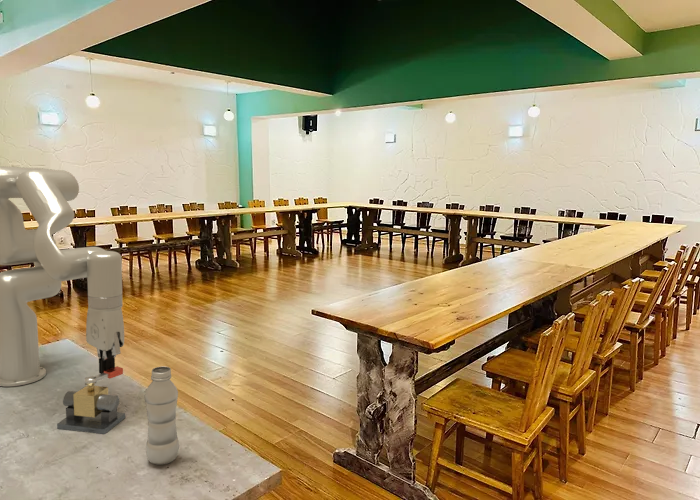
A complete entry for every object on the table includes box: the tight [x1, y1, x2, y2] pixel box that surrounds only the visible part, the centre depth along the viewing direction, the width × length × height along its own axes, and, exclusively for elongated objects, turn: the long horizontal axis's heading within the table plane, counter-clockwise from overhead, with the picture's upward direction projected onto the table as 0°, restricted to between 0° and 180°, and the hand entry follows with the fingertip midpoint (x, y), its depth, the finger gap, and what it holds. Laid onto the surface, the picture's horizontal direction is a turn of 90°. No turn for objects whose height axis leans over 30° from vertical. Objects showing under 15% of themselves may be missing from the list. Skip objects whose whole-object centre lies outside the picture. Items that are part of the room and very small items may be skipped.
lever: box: [84, 365, 124, 386], centre depth 117 cm, size 9×2×2 cm, turn 152°
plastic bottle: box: [143, 366, 180, 466], centre depth 101 cm, size 6×7×20 cm
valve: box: [56, 384, 126, 435], centre depth 115 cm, size 12×8×10 cm, turn 82°
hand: (107, 372), depth 121 cm, fingers closed
